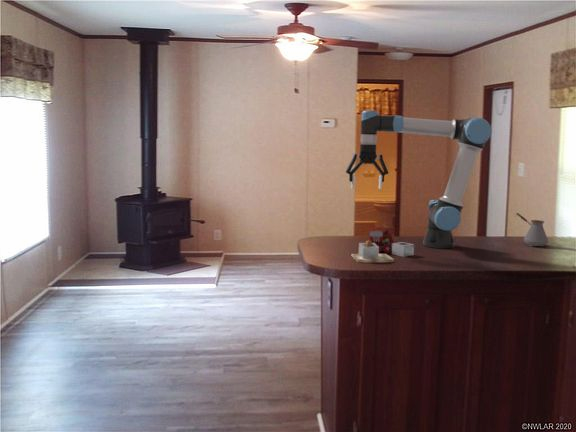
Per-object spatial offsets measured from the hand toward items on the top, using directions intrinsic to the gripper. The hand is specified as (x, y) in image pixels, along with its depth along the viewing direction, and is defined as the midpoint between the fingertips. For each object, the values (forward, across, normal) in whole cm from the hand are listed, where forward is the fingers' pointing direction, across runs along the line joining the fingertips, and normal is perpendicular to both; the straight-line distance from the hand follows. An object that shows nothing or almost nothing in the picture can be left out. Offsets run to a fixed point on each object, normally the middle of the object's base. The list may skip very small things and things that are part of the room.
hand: (366, 188), depth 283 cm
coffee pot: (+29, -91, -9) cm, 96 cm away
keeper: (+29, +3, +25) cm, 38 cm away
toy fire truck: (+29, -6, +8) cm, 31 cm away
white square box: (+27, +5, +25) cm, 37 cm away
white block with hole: (+29, -14, +16) cm, 36 cm away
